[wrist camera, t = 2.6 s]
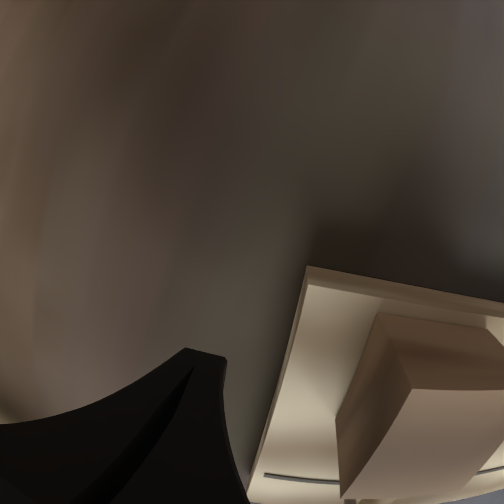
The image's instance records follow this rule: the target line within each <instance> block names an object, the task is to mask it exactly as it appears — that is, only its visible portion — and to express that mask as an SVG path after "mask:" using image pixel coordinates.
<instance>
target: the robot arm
mask: <svg viewBox="0 0 504 504" xmlns="http://www.w3.org/2000/svg"><path fill="white" fill-rule="evenodd" d="M226 368H227V360H226V358H225V357H222V356H218V355H214V354H209V353H205V352H201V351H197V350H193V349H190V348H184V349H182V350H181V351H179V352H178V353H177V354H175V355H174V356H172V357H171V358H170V359H168V360H167V361H166V362H164V363H163V364H161V365H160V366H158V367H157V368H155V369H154V370H152V371H151V372H149V373H148V374H146V375H145V376H143V377H142V378H140V379H138V380H137V381H135V382H133V383H132V384H130V385H128V386H126V387H124V388H123V389H121V390H119V391H117V392H115V393H113V394H111V395H109V396H107V397H105V398H103V399H101V400H99V401H96V402H94V403H92V404H89V405H87V406H84V407H81V408H78V409H75V410H72V411H69V412H65V413H62V414H59V415H55V416H52V417H48V418H43V419H38V420H33V421H27V422H20V423H12V424H0V504H250V502H249V499H248V497H247V494H246V492H245V489H244V487H243V484H242V482H241V479H240V477H239V474H238V471H237V468H236V464H235V461H234V458H233V454H232V450H231V446H230V442H229V437H228V432H227V427H226V420H225V413H224V401H223V388H224V381H225V374H226Z"/></svg>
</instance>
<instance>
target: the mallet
mask: <svg viewBox="0 0 504 504" xmlns="http://www.w3.org/2000/svg"><path fill="white" fill-rule="evenodd" d="M335 427H336V439H337V452H338V467H339V485H340V499H344V504H356V499H361V501H360V502H359V503H358V504H392V503H393V502H394V501H395V500H396V499H397V498H401V497H413V496H422V495H431V494H438V493H445V492H451V491H456V490H461V489H462V488H463V487H464V486H465V485H466V484H467V483H468V482H469V481H470V480H471V479H472V478H473V477H474V475H475V474H476V473H477V472H478V471H479V470H480V469H481V468H482V467H483V465H484V464H485V463H486V462H487V461H488V460H489V458H490V457H491V456H492V455H493V454H494V452H495V451H496V450H497V449H498V448H499V446H500V445H501V444H502V442H503V441H504V346H503V345H502V344H501V343H500V342H499V341H498V340H497V338H496V337H495V336H494V335H493V334H492V333H491V332H490V331H489V330H488V329H484V328H476V327H469V326H462V325H454V324H447V323H440V322H433V321H427V320H420V319H414V318H407V317H401V316H395V315H388V314H382V313H377V316H376V319H375V322H374V325H373V327H372V330H371V333H370V336H369V339H368V341H367V344H366V347H365V349H364V352H363V355H362V357H361V360H360V362H359V365H358V367H357V370H356V372H355V375H354V377H353V379H352V382H351V384H350V387H349V389H348V391H347V394H346V396H345V398H344V400H343V403H342V405H341V407H340V409H339V411H338V414H337V416H336V418H335Z"/></svg>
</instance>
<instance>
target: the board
mask: <svg viewBox="0 0 504 504" xmlns="http://www.w3.org/2000/svg"><path fill="white" fill-rule="evenodd" d="M377 313H382V314H388V315H395V316H401V317H407V318H414V319H420V320H427V321H433V322H440V323H447V324H454V325H462V326H469V327H476V328H484V329H488V330H489V331H490V332H491V333H492V334H493V335H494V336H495V337H496V338H497V340H498V341H499V342H500V343H501V344H502V345H503V346H504V303H501V302H496V301H490V300H485V299H480V298H475V297H469V296H464V295H459V294H454V293H448V292H443V291H438V290H433V289H427V288H422V287H417V286H412V285H407V284H401V283H396V282H391V281H386V280H381V279H375V278H370V277H365V276H360V275H355V274H350V273H344V272H339V271H334V270H329V269H324V268H319V267H313V266H308V265H307V266H306V271H305V275H304V280H303V284H302V288H301V293H300V297H299V301H298V305H297V309H296V313H295V318H294V322H293V326H292V330H291V334H290V338H289V341H288V345H287V349H286V353H285V357H284V361H283V364H282V368H281V372H280V375H279V379H278V383H277V386H276V390H275V393H274V397H273V400H272V404H271V407H270V411H269V414H268V418H267V421H266V424H265V428H264V431H263V434H262V438H261V441H260V444H259V447H258V450H257V454H256V457H255V460H254V463H253V466H252V469H251V472H250V475H249V480H248V485H247V490H246V494H247V497H248V499H249V501H250V502H256V503H262V504H344V499H340V485H339V467H338V452H337V439H336V427H335V418H336V416H337V414H338V411H339V409H340V407H341V405H342V403H343V400H344V398H345V396H346V394H347V391H348V389H349V387H350V384H351V382H352V379H353V377H354V375H355V372H356V370H357V367H358V365H359V362H360V360H361V357H362V355H363V352H364V349H365V347H366V344H367V341H368V339H369V336H370V333H371V330H372V327H373V325H374V322H375V319H376V316H377ZM503 488H504V441H503V442H502V444H501V445H500V446H499V448H498V449H497V450H496V451H495V452H494V454H493V455H492V456H491V457H490V458H489V460H488V461H487V462H486V463H485V464H484V465H483V467H482V468H481V469H480V470H479V471H478V472H477V473H476V474H475V475H474V477H473V478H472V479H471V480H470V481H469V482H468V483H467V484H466V485H465V486H464V487H463V488H462V489H461V490H456V491H451V492H445V493H438V494H431V495H422V496H413V497H401V498H397V499H396V500H395V501H394V502H393V503H392V504H438V503H444V502H449V501H455V500H460V499H464V498H469V497H473V496H477V495H481V494H485V493H489V492H493V491H496V490H500V489H503ZM360 501H361V499H356V504H358V503H359V502H360Z"/></svg>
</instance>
